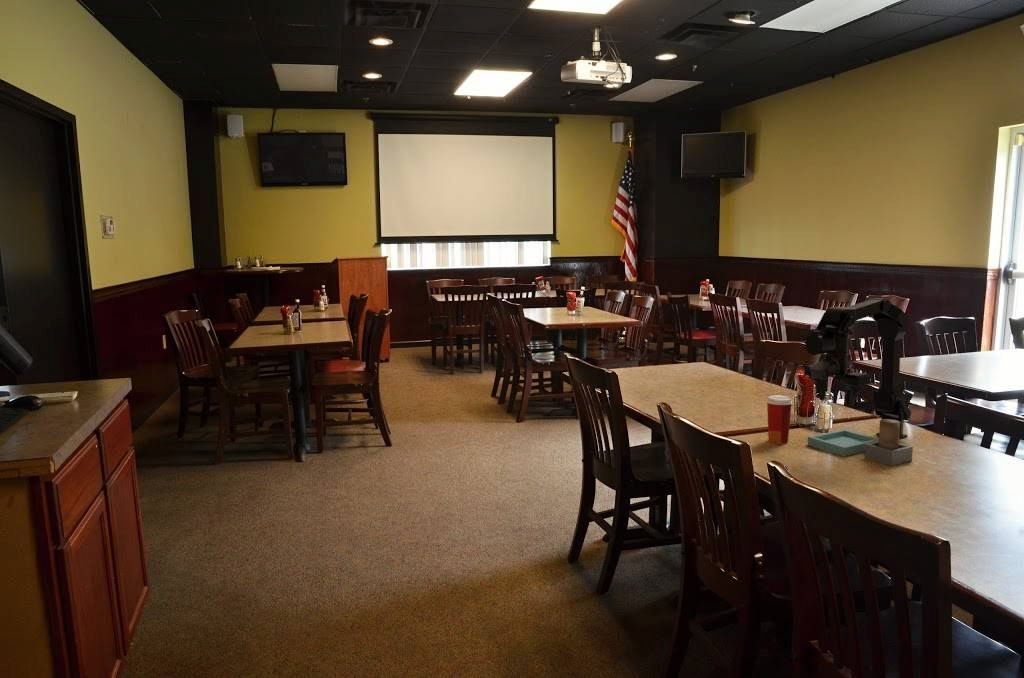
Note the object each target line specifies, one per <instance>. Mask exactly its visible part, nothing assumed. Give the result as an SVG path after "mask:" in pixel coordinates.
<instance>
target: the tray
mask: <svg viewBox="0 0 1024 678" xmlns="http://www.w3.org/2000/svg"><path fill="white" fill-rule="evenodd" d="M876 441H879V437H875V436H871V435H867V434H863V433H861V432H860V433H859V432H855V431H852V430H847V429H839V430H834V431H830V432H825V433H820V434H815V435H810V436H807V446H810V447H814V448H816V449H820V450H823V451H827V452H830V453H833V454H836V455H839V456H843V457H847V456H850V455H856V454H859V452H860V453H865V444H867V443H871V442H876ZM855 453H856V454H855Z"/></svg>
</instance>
